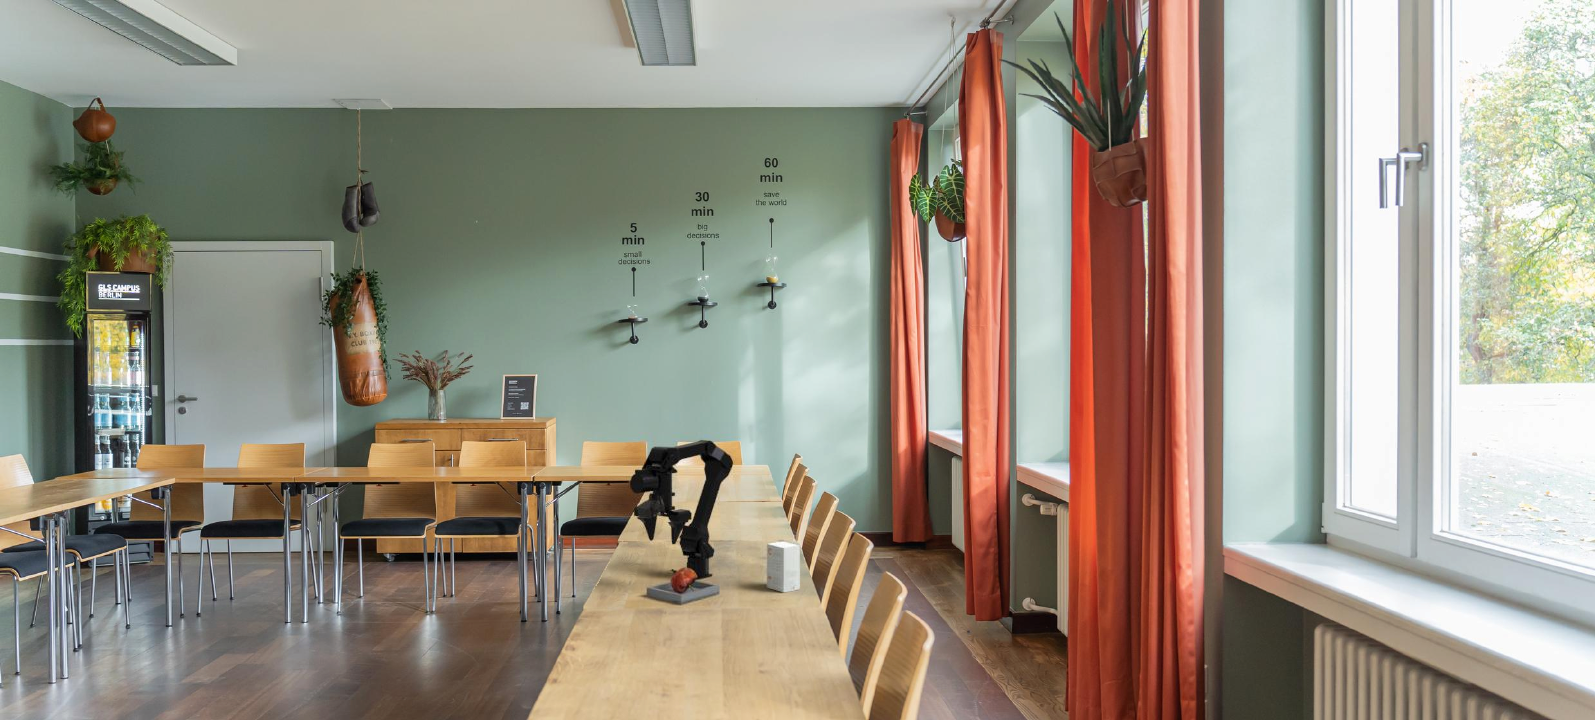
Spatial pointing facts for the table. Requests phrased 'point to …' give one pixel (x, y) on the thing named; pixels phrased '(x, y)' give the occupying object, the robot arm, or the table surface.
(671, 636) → the table surface
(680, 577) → the pomegranate
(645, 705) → the table surface
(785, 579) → the small box
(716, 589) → the tray
